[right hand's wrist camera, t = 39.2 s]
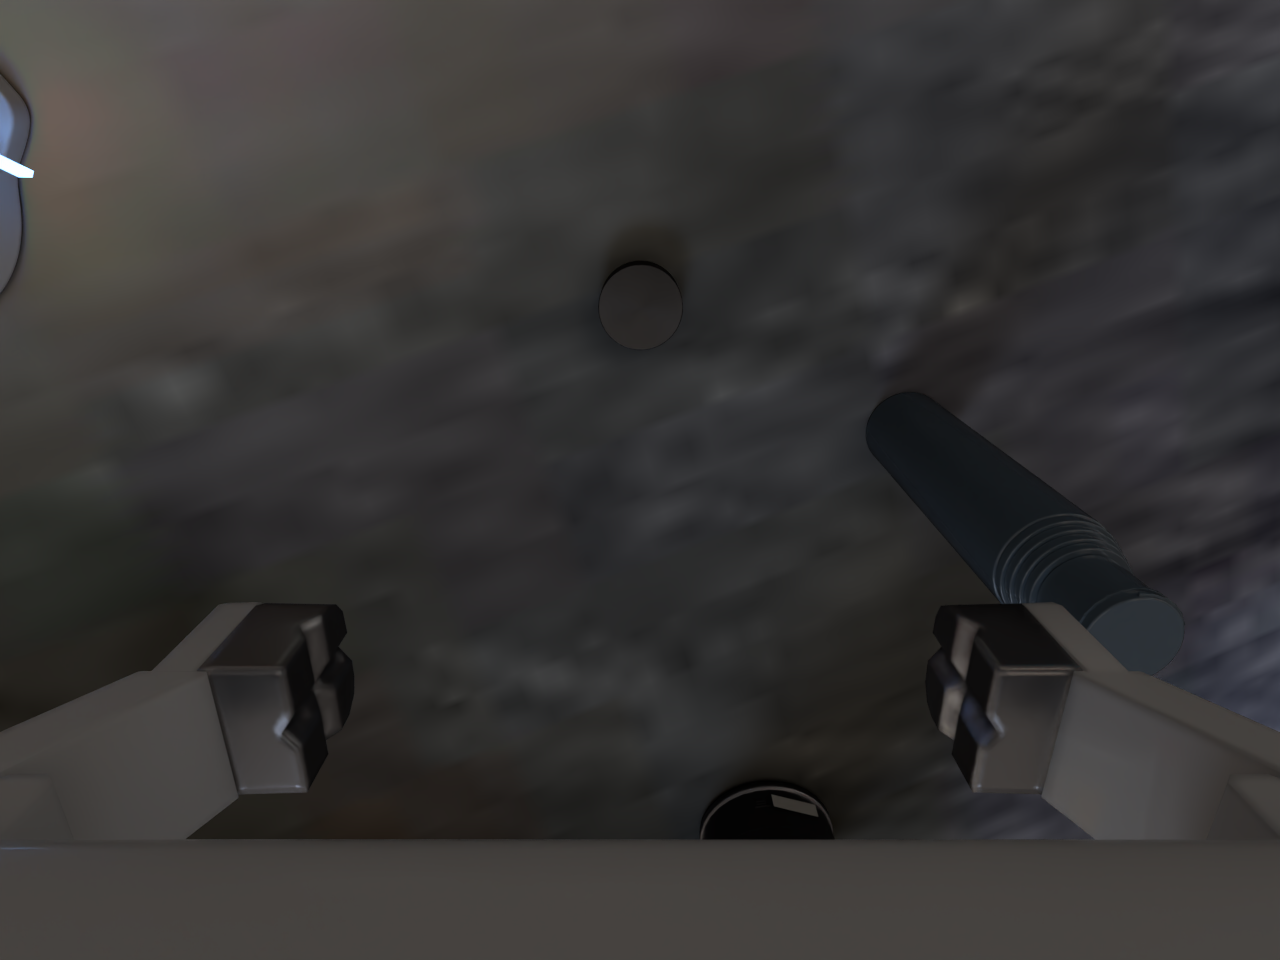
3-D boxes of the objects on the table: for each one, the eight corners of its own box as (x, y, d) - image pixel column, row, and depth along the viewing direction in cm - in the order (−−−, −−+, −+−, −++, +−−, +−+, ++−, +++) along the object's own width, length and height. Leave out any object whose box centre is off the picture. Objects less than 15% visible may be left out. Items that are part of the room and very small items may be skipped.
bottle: (935, 468, 44) (1180, 705, 24) (859, 463, 44) (1042, 698, 24) (951, 394, 42) (1229, 582, 22) (873, 389, 42) (1081, 574, 22)
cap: (671, 252, 39) (673, 255, 37) (688, 332, 41) (690, 339, 39) (591, 271, 39) (589, 275, 38) (610, 350, 41) (609, 358, 39)
